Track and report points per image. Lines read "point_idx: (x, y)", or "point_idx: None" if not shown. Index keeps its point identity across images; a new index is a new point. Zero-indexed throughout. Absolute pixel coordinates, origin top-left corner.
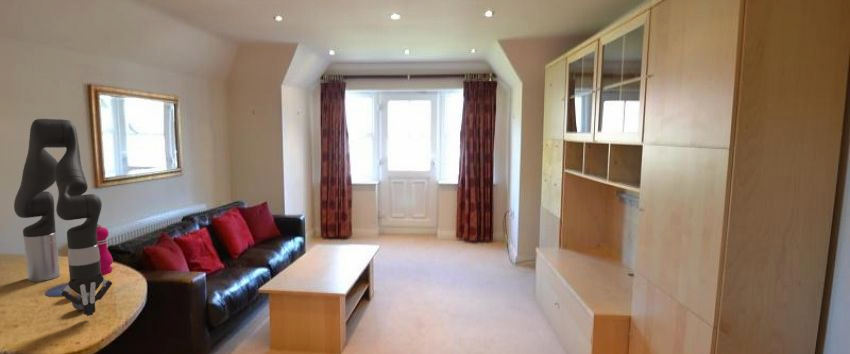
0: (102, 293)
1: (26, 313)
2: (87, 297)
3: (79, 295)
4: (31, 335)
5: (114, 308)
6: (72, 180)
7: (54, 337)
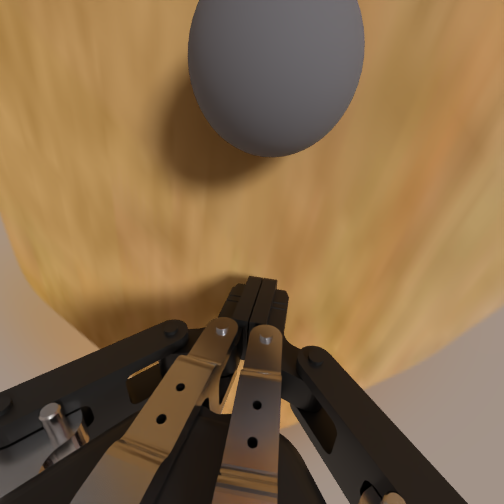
0: (331, 444)
1: None
2: (291, 141)
3: (226, 90)
4: (71, 257)
5: (419, 229)
6: None
7: None
